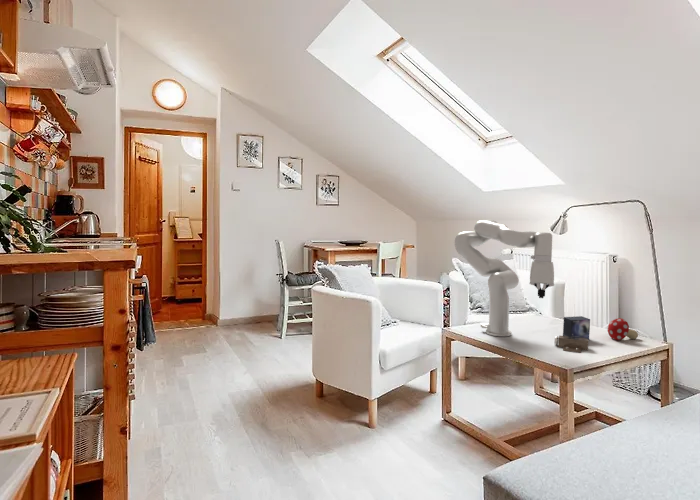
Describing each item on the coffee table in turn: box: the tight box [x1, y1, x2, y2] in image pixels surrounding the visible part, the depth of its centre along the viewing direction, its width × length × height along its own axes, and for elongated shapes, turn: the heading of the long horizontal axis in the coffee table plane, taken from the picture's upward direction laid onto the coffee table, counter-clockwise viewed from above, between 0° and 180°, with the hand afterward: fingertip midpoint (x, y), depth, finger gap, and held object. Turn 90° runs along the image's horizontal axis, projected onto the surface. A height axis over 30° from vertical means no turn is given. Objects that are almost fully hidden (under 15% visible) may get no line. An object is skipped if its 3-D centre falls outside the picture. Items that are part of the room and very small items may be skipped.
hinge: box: [557, 335, 589, 354], centre depth 207 cm, size 12×15×4 cm
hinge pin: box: [554, 335, 559, 346], centre depth 208 cm, size 14×4×4 cm, turn 60°
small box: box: [562, 315, 591, 341], centre depth 222 cm, size 11×6×10 cm, turn 101°
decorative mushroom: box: [607, 317, 639, 341], centre depth 221 cm, size 11×11×15 cm
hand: (541, 297), depth 213 cm, fingers closed
